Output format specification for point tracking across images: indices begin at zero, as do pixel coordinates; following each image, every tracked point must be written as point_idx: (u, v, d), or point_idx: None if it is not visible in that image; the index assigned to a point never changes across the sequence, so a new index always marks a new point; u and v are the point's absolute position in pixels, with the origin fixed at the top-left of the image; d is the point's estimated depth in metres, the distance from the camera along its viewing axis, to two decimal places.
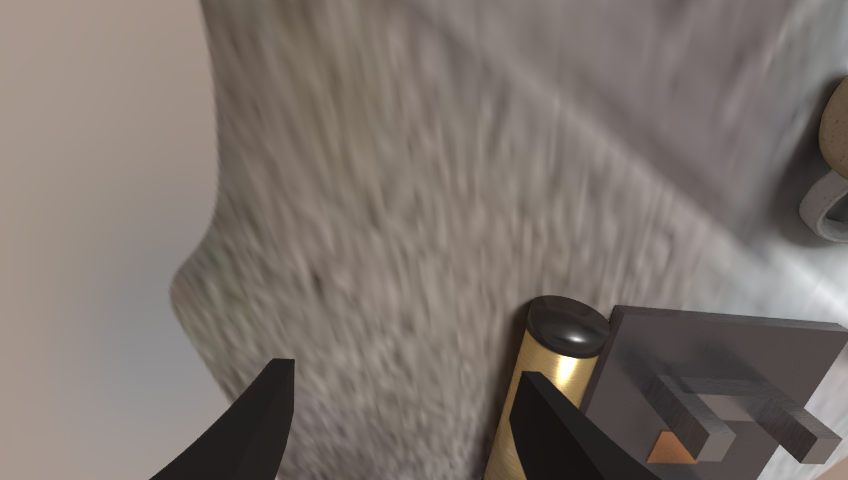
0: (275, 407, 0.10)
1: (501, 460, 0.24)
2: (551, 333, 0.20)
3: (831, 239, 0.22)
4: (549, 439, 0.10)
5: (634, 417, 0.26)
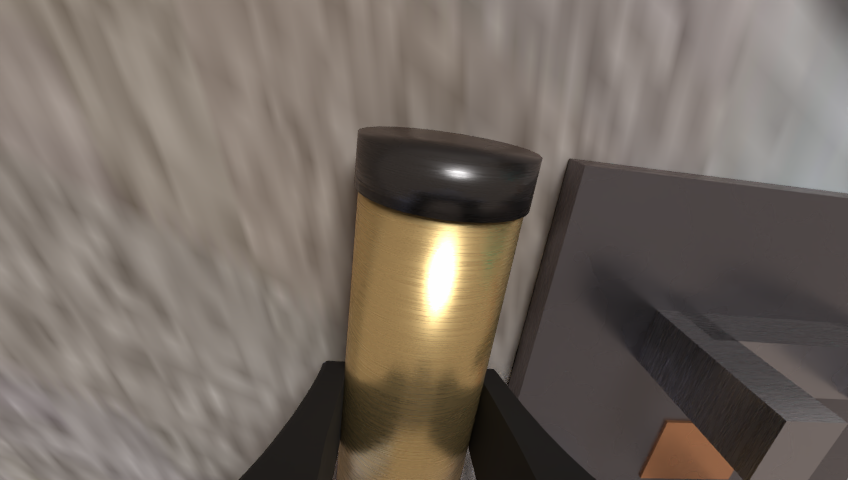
0: (337, 409, 0.10)
1: None
2: (382, 158, 0.08)
3: None
4: (494, 438, 0.10)
5: (615, 395, 0.14)
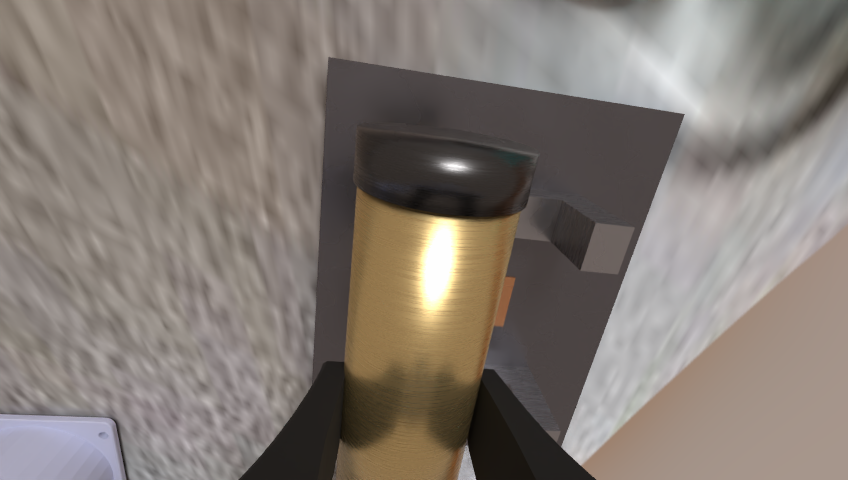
0: (337, 409, 0.10)
1: (341, 476, 0.12)
2: (382, 153, 0.08)
3: None
4: (494, 438, 0.10)
5: None
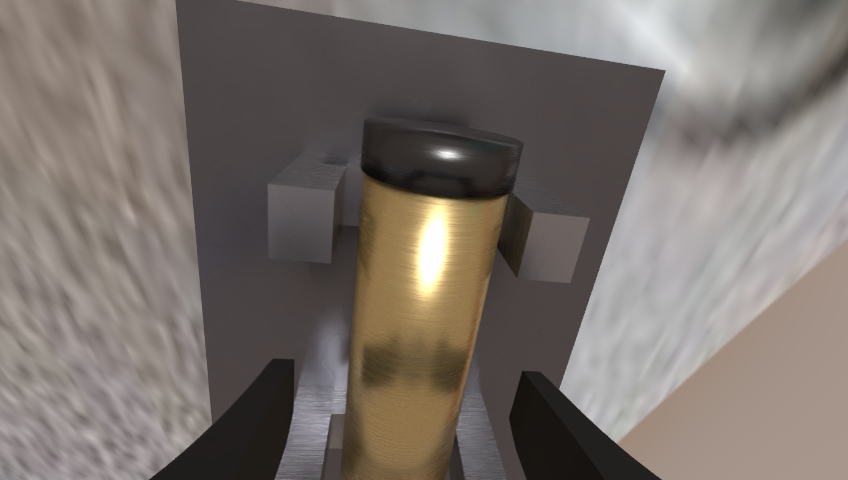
0: (275, 407, 0.10)
1: (349, 440, 0.13)
2: (388, 143, 0.09)
3: None
4: (549, 439, 0.10)
5: None
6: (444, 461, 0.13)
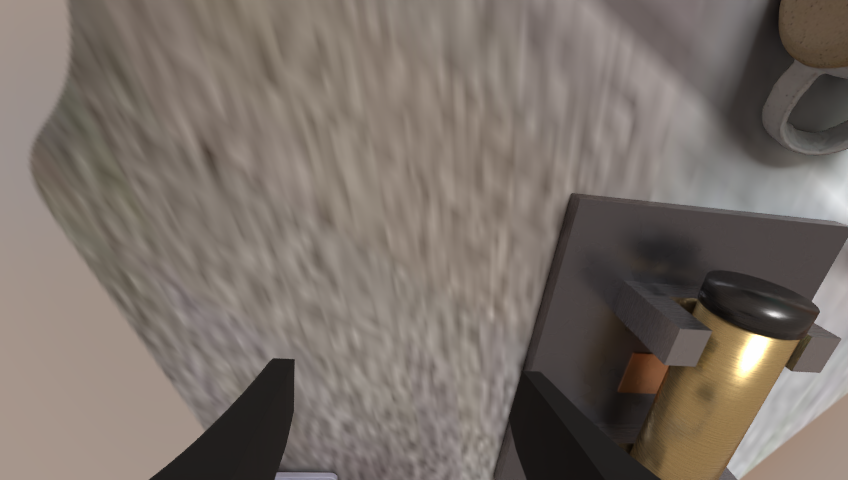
0: (275, 407, 0.10)
1: (660, 463, 0.21)
2: (755, 311, 0.17)
3: (799, 150, 0.19)
4: (549, 439, 0.10)
5: (600, 335, 0.23)
6: None
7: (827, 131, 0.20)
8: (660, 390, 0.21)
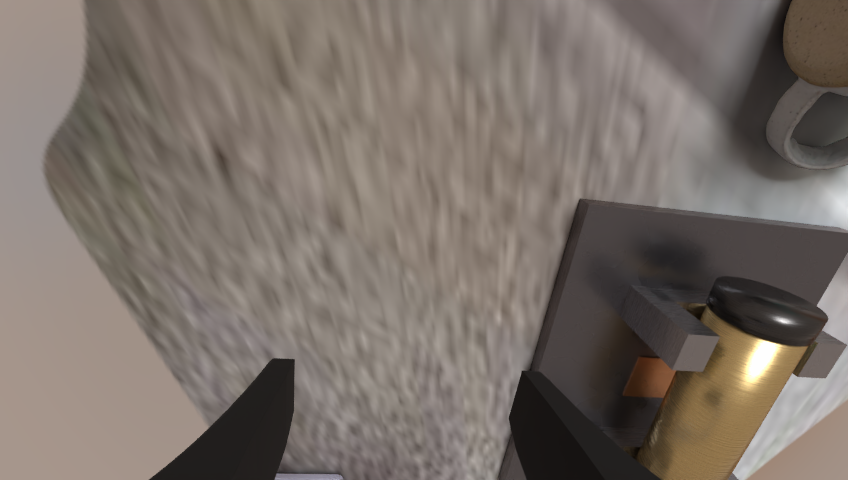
0: (275, 407, 0.10)
1: (669, 468, 0.21)
2: (767, 318, 0.17)
3: (802, 165, 0.19)
4: (549, 439, 0.10)
5: (607, 339, 0.23)
6: None
7: (830, 146, 0.20)
8: (668, 395, 0.21)
